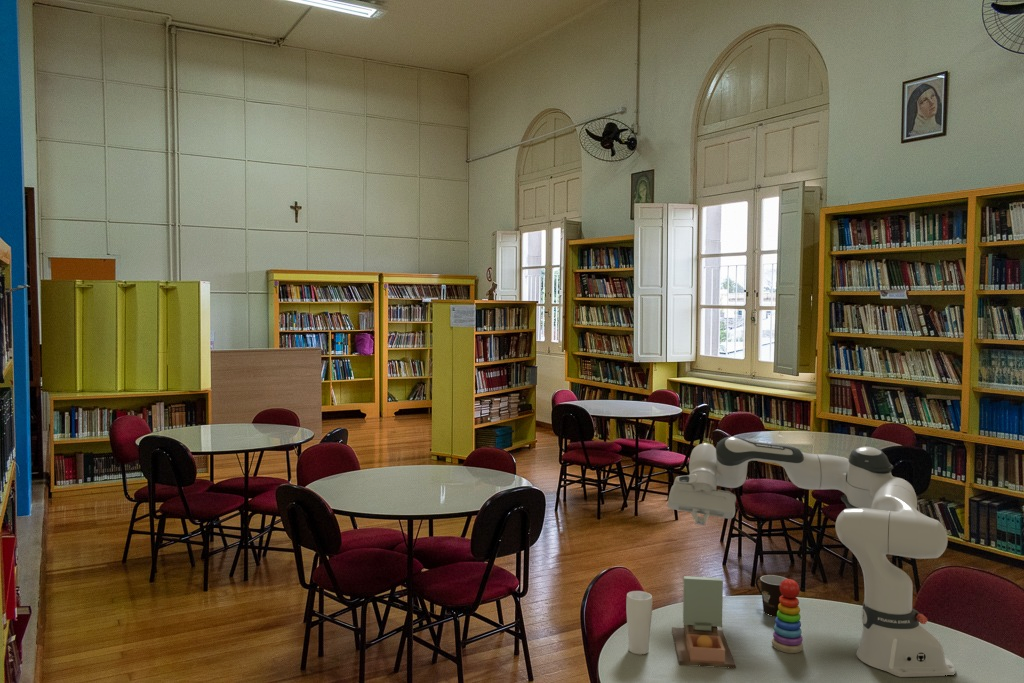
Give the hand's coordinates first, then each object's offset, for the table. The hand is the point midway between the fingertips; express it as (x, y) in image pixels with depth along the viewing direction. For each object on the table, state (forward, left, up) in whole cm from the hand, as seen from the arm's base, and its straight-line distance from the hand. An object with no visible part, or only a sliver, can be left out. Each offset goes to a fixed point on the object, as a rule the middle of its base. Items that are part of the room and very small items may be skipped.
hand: (700, 523), depth 222 cm
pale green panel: (+2, +26, -21) cm, 34 cm away
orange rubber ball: (+2, +31, -23) cm, 39 cm away
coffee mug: (-23, -4, -27) cm, 35 cm away
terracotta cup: (+2, +32, -27) cm, 42 cm away
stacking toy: (-21, +22, -27) cm, 41 cm away
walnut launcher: (+2, +26, -27) cm, 37 cm away
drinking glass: (+19, +30, -27) cm, 45 cm away
